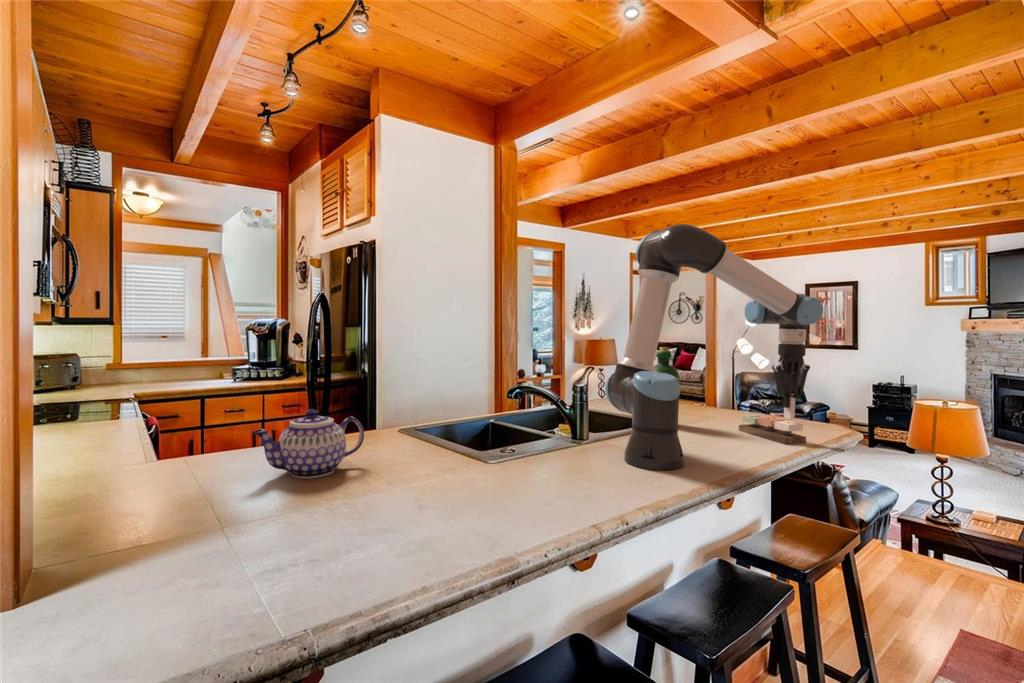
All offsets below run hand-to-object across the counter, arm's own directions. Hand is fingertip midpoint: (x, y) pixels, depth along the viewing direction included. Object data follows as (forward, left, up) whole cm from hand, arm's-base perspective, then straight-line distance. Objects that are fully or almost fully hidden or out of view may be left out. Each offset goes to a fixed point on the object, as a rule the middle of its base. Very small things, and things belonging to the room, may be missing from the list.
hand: (789, 417), depth 158 cm
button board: (0, +7, -8) cm, 10 cm away
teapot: (-140, +1, -8) cm, 140 cm away
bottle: (-25, +32, -8) cm, 41 cm away
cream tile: (0, 0, -6) cm, 6 cm away
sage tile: (0, +14, -6) cm, 15 cm away
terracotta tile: (0, +7, -6) cm, 9 cm away
